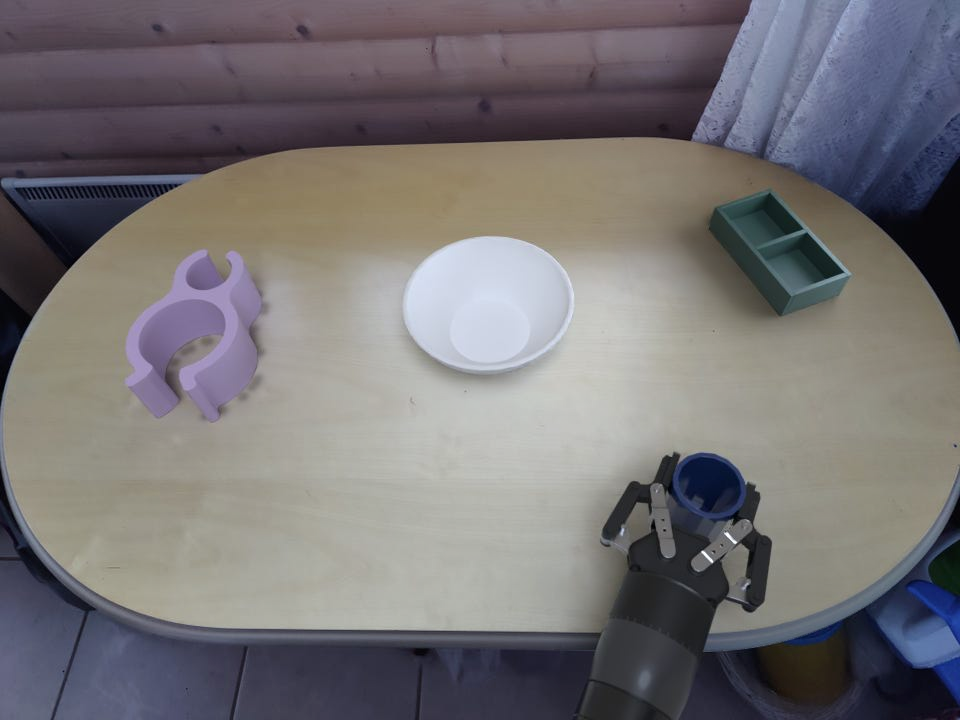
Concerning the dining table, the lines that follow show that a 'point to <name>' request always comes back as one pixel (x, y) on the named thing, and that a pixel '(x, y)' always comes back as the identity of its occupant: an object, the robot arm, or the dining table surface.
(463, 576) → the dining table surface
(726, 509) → the cup
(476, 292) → the bowl
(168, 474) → the dining table surface
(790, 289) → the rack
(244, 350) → the clip
